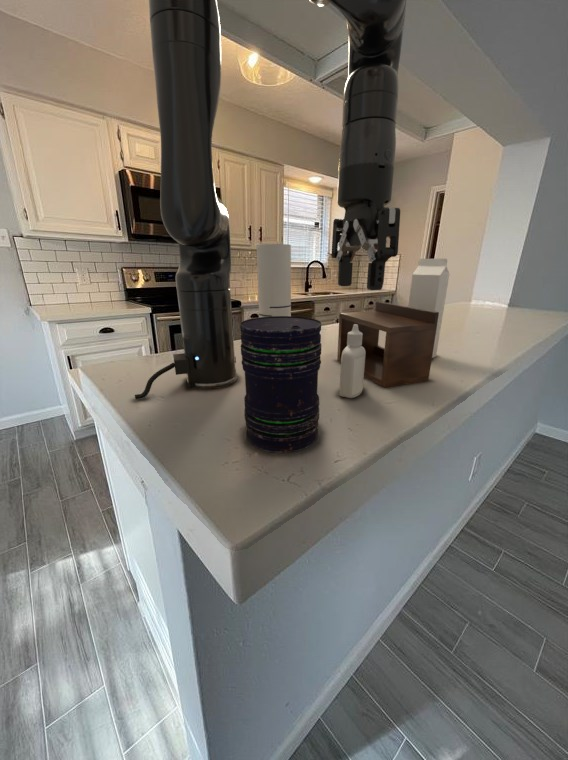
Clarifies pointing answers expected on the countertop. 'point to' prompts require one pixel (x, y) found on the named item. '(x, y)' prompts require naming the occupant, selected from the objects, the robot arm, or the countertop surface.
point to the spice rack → (393, 342)
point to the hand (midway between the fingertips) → (358, 287)
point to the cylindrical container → (274, 279)
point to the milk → (430, 289)
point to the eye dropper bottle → (352, 365)
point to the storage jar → (281, 381)
